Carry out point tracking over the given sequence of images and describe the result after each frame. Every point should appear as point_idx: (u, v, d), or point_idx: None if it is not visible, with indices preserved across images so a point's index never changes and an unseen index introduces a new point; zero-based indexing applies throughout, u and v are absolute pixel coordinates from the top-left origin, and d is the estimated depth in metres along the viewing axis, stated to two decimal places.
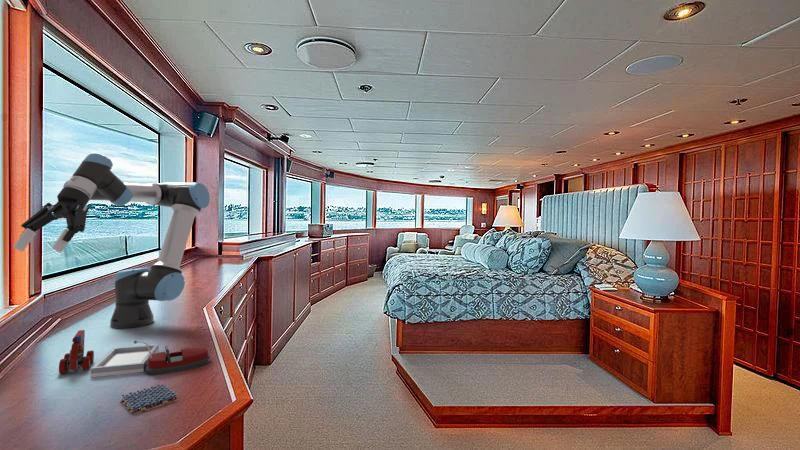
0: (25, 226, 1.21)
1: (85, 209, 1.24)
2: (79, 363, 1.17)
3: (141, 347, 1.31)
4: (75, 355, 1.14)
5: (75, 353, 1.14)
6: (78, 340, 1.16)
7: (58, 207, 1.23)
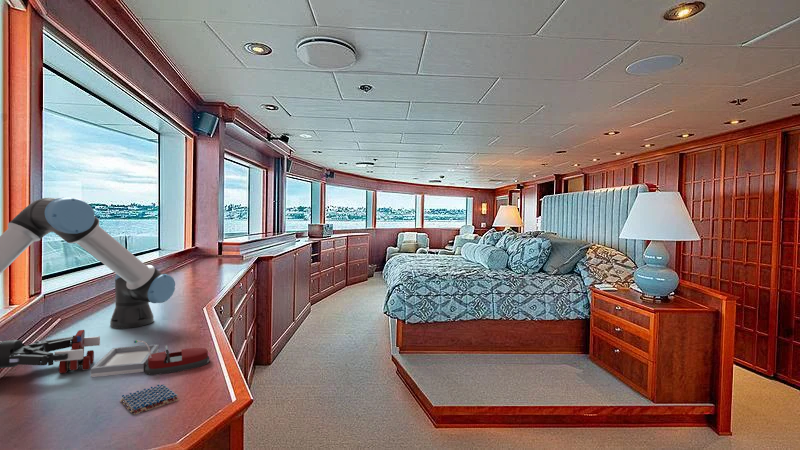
0: None
1: (15, 359, 1.09)
2: (79, 363, 1.17)
3: (141, 347, 1.31)
4: None
5: None
6: (78, 340, 1.17)
7: None
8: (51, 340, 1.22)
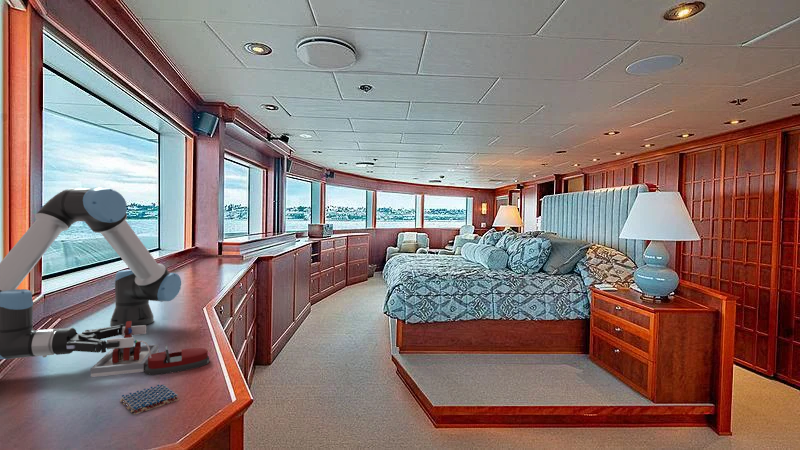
0: None
1: (71, 346, 1.13)
2: (130, 353, 1.22)
3: (141, 347, 1.31)
4: None
5: None
6: (129, 332, 1.21)
7: None
8: (101, 328, 1.26)
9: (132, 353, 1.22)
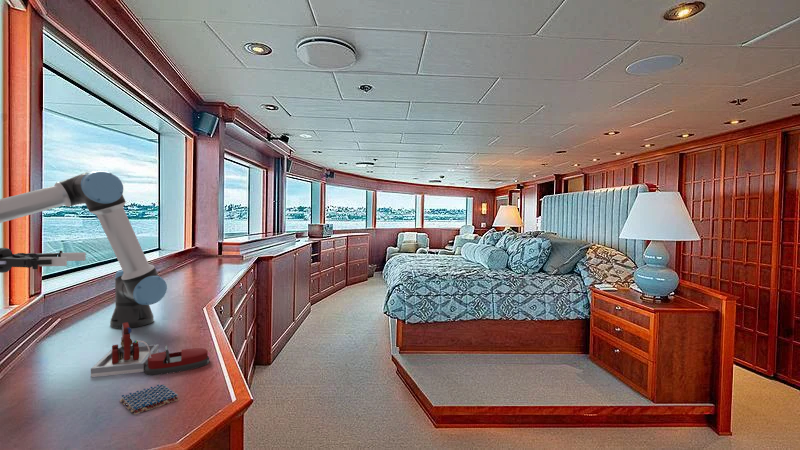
0: None
1: (2, 261, 1.15)
2: (130, 353, 1.22)
3: (141, 347, 1.31)
4: (128, 345, 1.20)
5: (128, 343, 1.20)
6: (129, 331, 1.22)
7: None
8: None
9: (132, 353, 1.23)
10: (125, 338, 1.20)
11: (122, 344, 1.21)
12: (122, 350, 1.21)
